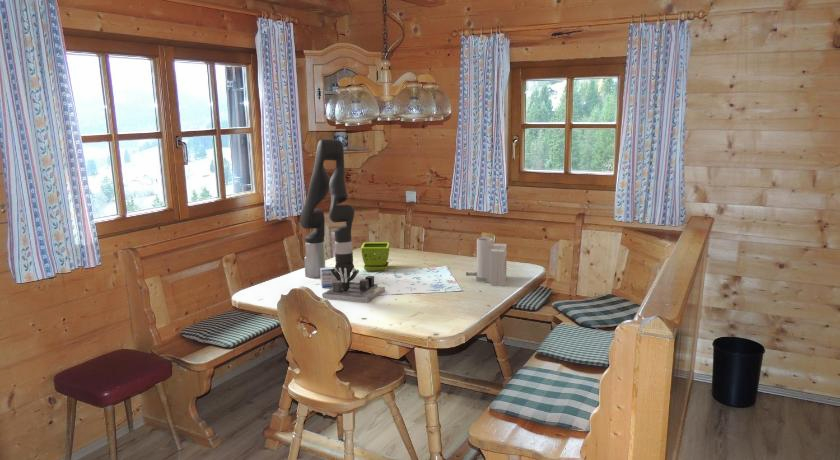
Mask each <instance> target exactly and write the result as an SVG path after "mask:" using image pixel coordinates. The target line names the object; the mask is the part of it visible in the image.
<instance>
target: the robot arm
mask: <svg viewBox="0 0 840 460" xmlns="http://www.w3.org/2000/svg"><path fill="white" fill-rule="evenodd" d="M315 151H316V152H315V156H314V157H315V159H314V165H313V170H312V173H311V177H310V181H309V185H308V190H307V194H306V195H307V196H306V198H305V202H304V205H303V207H302V209H301V212H300V217H299V218H300V226H301V227H302V228H303V229H307V230H310V229H313V231H312V232H311V233H308V234H307V235H306V236H305V237H304V242H305V243H304V244H305V246H304V248H305V257H304V259H303V261H304V275H305V277H307V278H311V279H316V278H318V279H319V278H321V274H320V268H326V251H325V249H326V248H325V234H326V233H325V231H326V230H325V228H326V226H325V223H326V221H325V219H326V218H325V214H324V213H325V212H324V211H323V209H322V208H316V207H317V206H318V205H320V203H322V202H323V200H325V199H326V197H327V196H328V195H330V207H329V212H328V218H329V219H330V221H331V222H333V223H344V224H343V225H342V226H339V227H336V228H335V229H334V256H335V265H334V267H335V268H334V269H332V270H331V272H332V273H333V275H334V276H335V277H336V279H337V280H338V281H341V282H342V289H343V291H348V289H349V288H350V287H349V282H353V280H354V279H355V278H356V276H357V275H358V274H359V272H360V270H359V269H356V268H355V266H354V255H353V253H354V251H353V250H354V249H353V242H352V226H353V222H354V217H355V208H354V207H353V206H352V205H350V204H343V203H345V202H346V201H347V200H348V194H347V193H348V192H347V187H346V180H345V152H344V146H343V142H342V141H341V140H339V139H328V138H327V139H326V138H322V139H319V141H318V143H317V147H316V150H315ZM325 161H335V163H336V164H335V169H334V171H333V173H332V175H331V177H330V176H329V174H328V172H327V170H326V167H325V166H324V162H325ZM340 204H343V205H340ZM351 273H352V274H351Z"/></svg>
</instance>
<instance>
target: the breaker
mask: <svg viewBox="0 0 840 460" xmlns="http://www.w3.org/2000/svg"><path fill="white" fill-rule="evenodd" d="M332 285H333V287H332V288H333V292H340V293H341V292H342V282H341V281H334V282H333V283H332Z"/></svg>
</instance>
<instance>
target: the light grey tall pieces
mask: <svg viewBox="0 0 840 460" xmlns="http://www.w3.org/2000/svg"><path fill="white" fill-rule="evenodd" d="M507 245H508V244H507V243H494V239H493V238H491V237H479V238H478V237H477V238H476V271H475V272H465V275H466V277H467V276H469V277H471V276H473V277H475V279H476V281H477V282H486V283H488V284H490V286H494V287H497V286H498V287H505V283H506V279H507V256H508V255H507V254H508V253H507V248H508V247H507Z"/></svg>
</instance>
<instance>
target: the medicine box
mask: <svg viewBox="0 0 840 460" xmlns="http://www.w3.org/2000/svg"><path fill="white" fill-rule="evenodd" d="M334 268H335V266H331V267H330V266H329V267H325V268H320V274H321V277H320V286H321V288H323V289H325V288H333V285H332V283H333V282H334V281H338V280H337V279H336V277H335V276H334V275H333V273H332V272H331V270H332V269H334Z"/></svg>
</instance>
